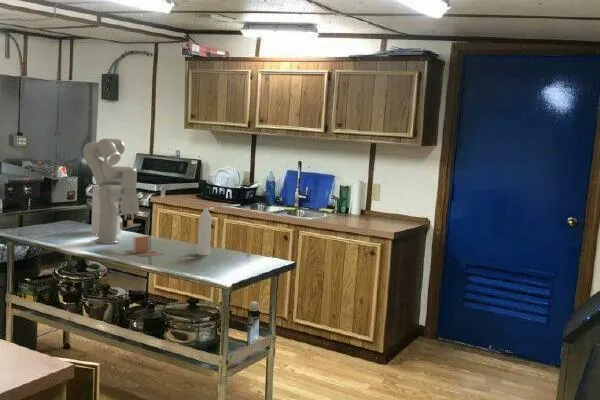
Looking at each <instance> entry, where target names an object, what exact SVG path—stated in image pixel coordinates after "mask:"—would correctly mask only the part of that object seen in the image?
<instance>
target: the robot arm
mask: <svg viewBox="0 0 600 400" xmlns="http://www.w3.org/2000/svg"><path fill="white" fill-rule="evenodd" d="M125 150H126V148H125V143H124V141H123V140H122V139H119V138H102V139H99V140H98V142H96V141H94V142H88V143H86V144H85V145H84V146H83V150H82V151H83V157H84V161H85V162H86V164H87V165H88V167H89V168H90V171H91V173H92V175H93V178H94V180H95V182H96V185H98V186H99V187H100V188H99V190H98V196H99V204H100V211H99V233H98V234H97V235H96V236H97V237H98V238H96V239H95V243H98V244H103V245H104V244H105V245H113V244H118V243H120V239H119V238H117V237H118V235H117V215H118V216H120V217H121V218H122V222H123V227H125V228H127V220H133V221H134V219H135V217H136V216H138V215H139V212H140V204H139V203H140V201H139V197H138V196H139V195H138V194H137V175H138V172H137V168H133V167H130V166H121V165H120V166H117V164H118V163H119V162H120V161H121V158H122V155H123V154H124V152H125ZM101 158H103V159H101ZM114 202H118V211H117V208H116V206H115V205H114ZM121 213H122V214H121ZM127 217H128V219H127ZM127 229H128V228H127Z"/></svg>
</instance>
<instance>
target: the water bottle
mask: <svg viewBox="0 0 600 400" xmlns="http://www.w3.org/2000/svg"><path fill="white" fill-rule="evenodd" d="M202 210H203V211H202V212H201V213H200V215H199V217H198V231H197V232H198V233H197V234H198V236H197V252H196V254H197V255H199V256H210V255H211V253H210V252H211V235H212V234H211V233H212V232H211V231H212V218H213V217H212V215H211V213H210V212H209V210H215V207H211V206H210V207H209V208H207V207H203V209H202Z"/></svg>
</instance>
